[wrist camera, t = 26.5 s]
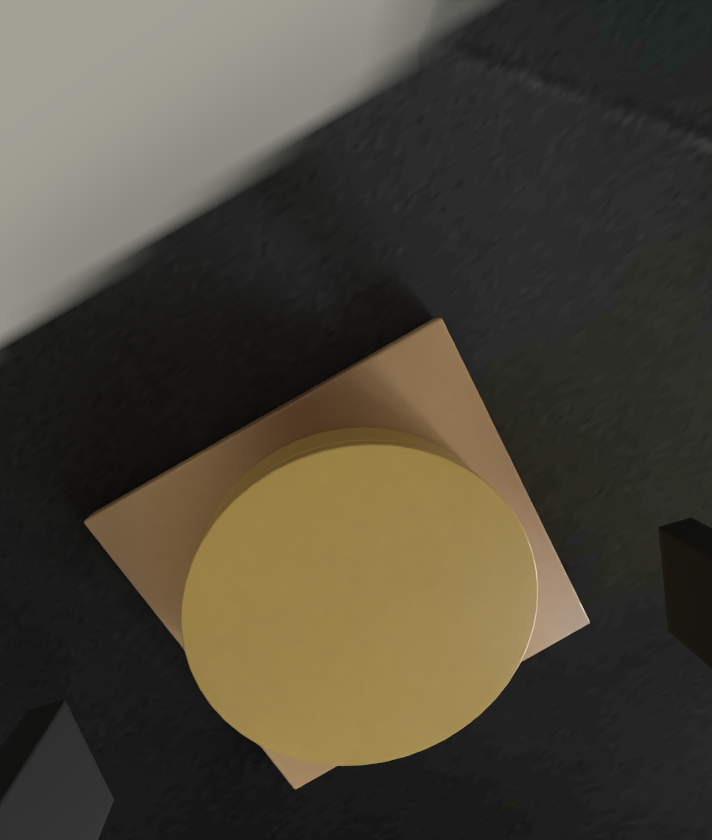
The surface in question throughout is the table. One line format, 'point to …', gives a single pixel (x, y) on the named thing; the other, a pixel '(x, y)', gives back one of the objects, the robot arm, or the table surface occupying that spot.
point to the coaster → (315, 413)
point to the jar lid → (358, 598)
